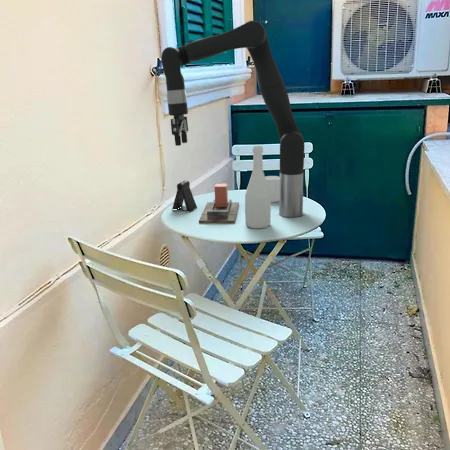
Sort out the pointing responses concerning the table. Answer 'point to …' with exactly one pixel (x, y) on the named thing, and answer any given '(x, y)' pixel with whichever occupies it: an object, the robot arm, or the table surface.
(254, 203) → the wine bottle
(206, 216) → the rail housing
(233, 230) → the table surface
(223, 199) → the orange upright block
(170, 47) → the robot arm
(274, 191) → the mug
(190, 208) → the black a-frame stand
